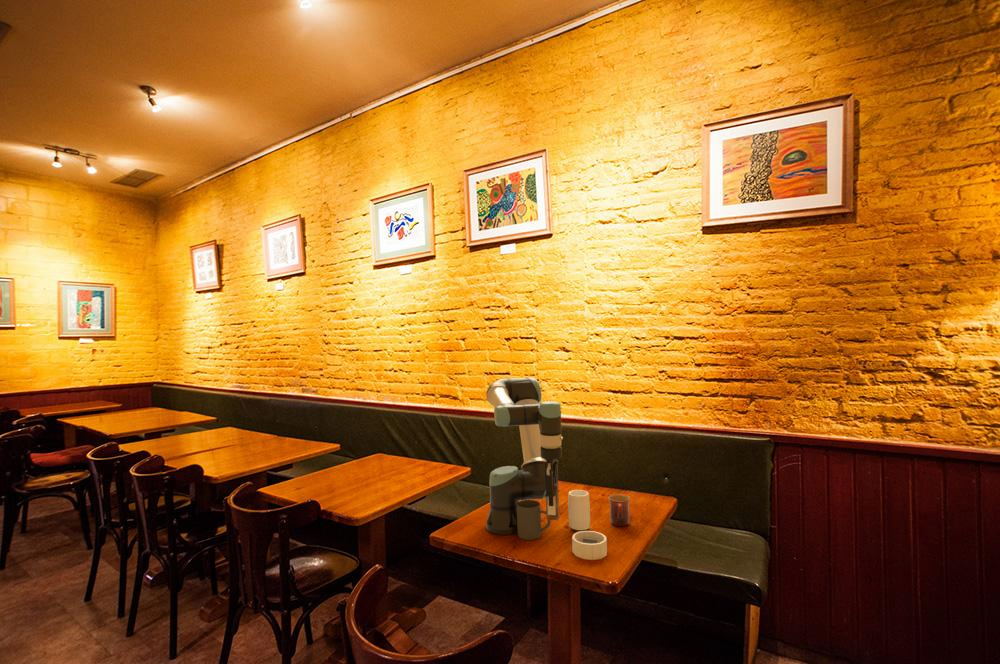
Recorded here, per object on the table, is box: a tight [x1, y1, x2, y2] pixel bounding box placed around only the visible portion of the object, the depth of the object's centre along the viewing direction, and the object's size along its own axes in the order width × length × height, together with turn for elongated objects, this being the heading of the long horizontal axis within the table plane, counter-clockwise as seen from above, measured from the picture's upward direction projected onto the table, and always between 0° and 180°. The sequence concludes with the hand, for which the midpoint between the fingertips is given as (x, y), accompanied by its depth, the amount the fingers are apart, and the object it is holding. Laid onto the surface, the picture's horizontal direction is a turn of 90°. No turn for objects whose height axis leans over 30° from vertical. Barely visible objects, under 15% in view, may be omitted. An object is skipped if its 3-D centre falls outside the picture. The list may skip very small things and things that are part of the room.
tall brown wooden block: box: [545, 483, 560, 521], centre depth 164 cm, size 4×2×12 cm, turn 73°
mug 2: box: [607, 493, 631, 527], centre depth 186 cm, size 12×9×10 cm
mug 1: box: [517, 499, 552, 541], centre depth 177 cm, size 14×9×12 cm
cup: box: [567, 489, 591, 531], centre depth 183 cm, size 8×8×14 cm
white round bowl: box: [571, 530, 608, 561], centre depth 162 cm, size 12×12×5 cm
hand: (552, 512), depth 164 cm, fingers closed on tall brown wooden block, 2 cm apart
